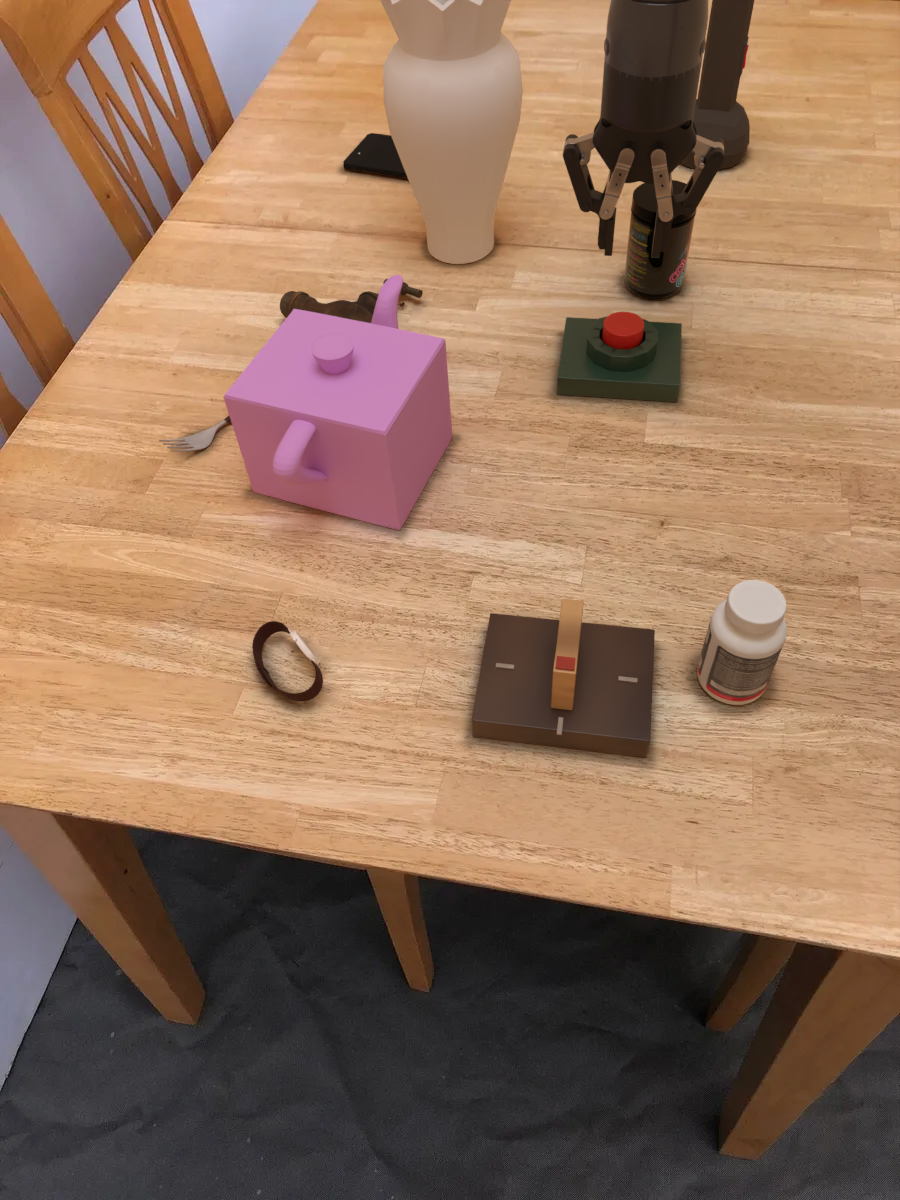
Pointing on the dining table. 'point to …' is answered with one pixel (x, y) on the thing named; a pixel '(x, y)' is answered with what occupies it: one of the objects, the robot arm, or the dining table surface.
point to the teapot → (345, 413)
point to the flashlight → (724, 81)
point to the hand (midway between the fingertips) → (631, 251)
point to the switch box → (620, 363)
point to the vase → (453, 116)
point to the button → (623, 330)
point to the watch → (275, 626)
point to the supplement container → (641, 269)
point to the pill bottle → (743, 643)
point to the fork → (196, 438)
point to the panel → (602, 690)
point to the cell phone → (376, 157)
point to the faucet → (339, 304)
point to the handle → (566, 654)
